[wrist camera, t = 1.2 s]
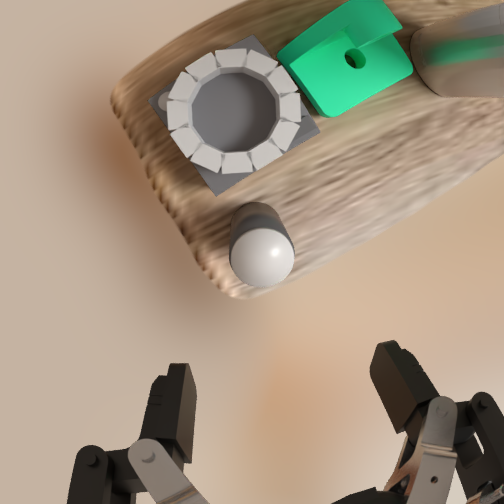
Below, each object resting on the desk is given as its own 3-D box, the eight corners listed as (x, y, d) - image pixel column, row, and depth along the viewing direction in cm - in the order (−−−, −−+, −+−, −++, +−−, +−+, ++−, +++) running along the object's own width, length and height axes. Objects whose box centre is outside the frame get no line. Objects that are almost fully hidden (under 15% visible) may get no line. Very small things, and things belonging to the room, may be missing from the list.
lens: (280, 201, 26) (296, 225, 19) (281, 248, 28) (295, 286, 21) (228, 204, 26) (226, 230, 19) (232, 251, 28) (231, 291, 21)
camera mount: (320, 122, 24) (369, 117, 14) (274, 59, 21) (297, 18, 11) (403, 75, 21) (466, 62, 12) (364, 18, 19) (414, -17, 9)
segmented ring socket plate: (250, 48, 20) (255, 25, 15) (308, 132, 24) (328, 132, 18) (160, 105, 22) (139, 97, 16) (218, 187, 25) (214, 202, 20)
